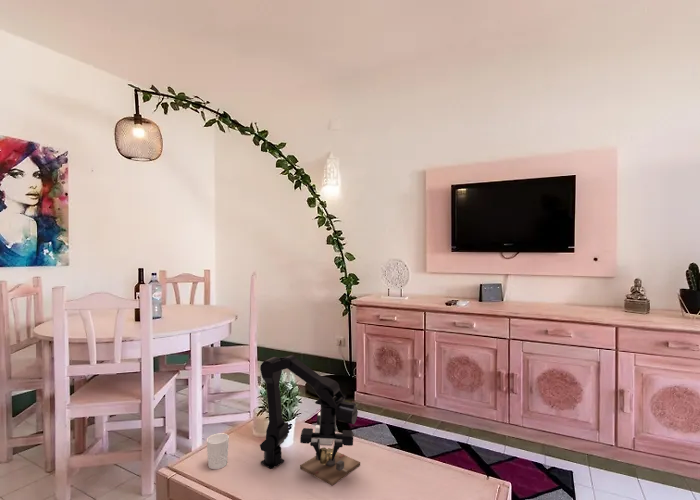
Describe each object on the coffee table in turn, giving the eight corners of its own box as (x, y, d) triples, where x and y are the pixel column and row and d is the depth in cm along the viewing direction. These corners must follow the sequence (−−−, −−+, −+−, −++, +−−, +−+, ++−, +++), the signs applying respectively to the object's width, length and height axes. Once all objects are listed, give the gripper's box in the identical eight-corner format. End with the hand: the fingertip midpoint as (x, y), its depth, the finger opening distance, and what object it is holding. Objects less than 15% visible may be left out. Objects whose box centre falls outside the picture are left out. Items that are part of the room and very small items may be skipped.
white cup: (211, 473, 137) (211, 445, 137) (203, 463, 143) (203, 437, 143) (232, 465, 142) (232, 438, 142) (223, 456, 148) (223, 431, 148)
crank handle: (316, 465, 135) (316, 449, 135) (331, 446, 148) (331, 431, 148) (327, 468, 133) (327, 452, 133) (342, 448, 147) (342, 433, 147)
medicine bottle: (334, 436, 164) (334, 409, 164) (331, 445, 157) (331, 416, 157) (318, 435, 165) (318, 408, 165) (314, 444, 158) (315, 415, 158)
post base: (300, 468, 140) (300, 458, 140) (328, 450, 153) (329, 441, 153) (332, 485, 130) (332, 474, 130) (360, 465, 143) (360, 455, 143)
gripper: (353, 408, 143) (351, 448, 144) (304, 405, 143) (302, 446, 144) (354, 422, 132) (351, 466, 133) (301, 420, 132) (298, 463, 133)
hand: (326, 459), depth 136 cm, fingers open, 4 cm apart
